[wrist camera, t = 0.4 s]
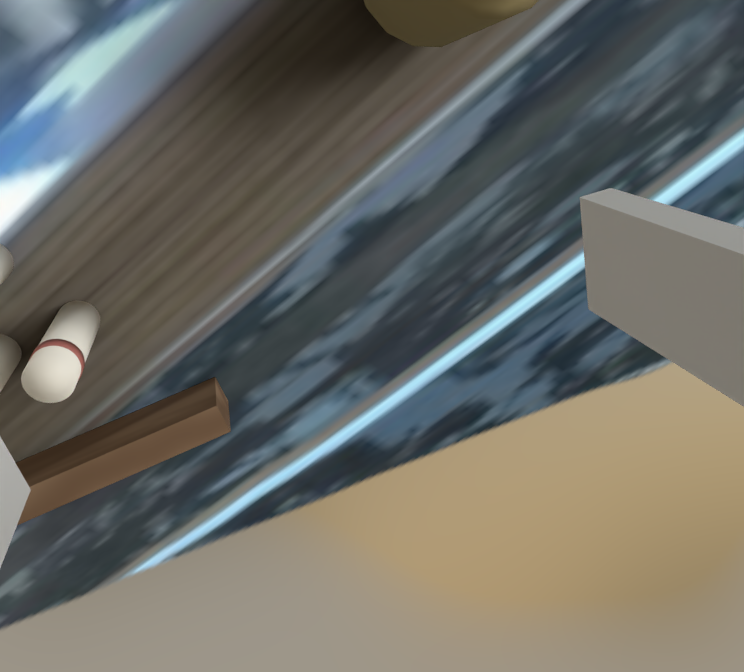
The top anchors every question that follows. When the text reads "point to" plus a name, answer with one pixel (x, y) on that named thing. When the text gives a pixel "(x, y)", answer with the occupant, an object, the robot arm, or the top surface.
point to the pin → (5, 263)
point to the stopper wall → (124, 447)
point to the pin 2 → (61, 353)
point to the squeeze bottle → (441, 18)
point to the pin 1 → (8, 358)
